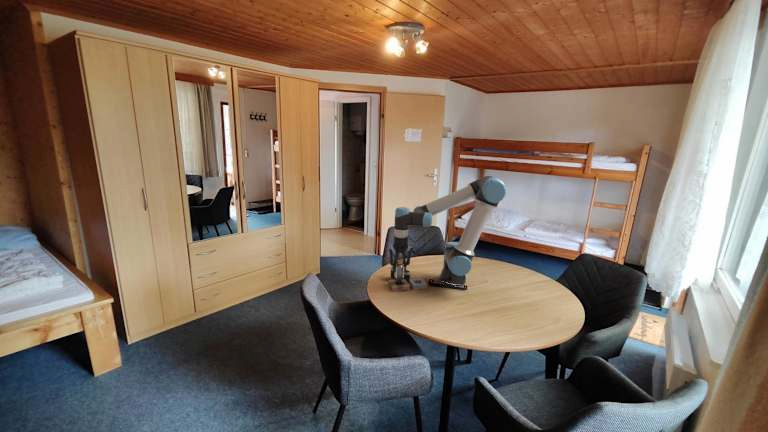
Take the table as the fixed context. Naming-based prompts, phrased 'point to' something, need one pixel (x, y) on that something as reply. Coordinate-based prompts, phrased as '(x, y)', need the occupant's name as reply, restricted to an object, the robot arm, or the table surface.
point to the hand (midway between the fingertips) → (399, 276)
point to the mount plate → (417, 284)
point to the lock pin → (399, 272)
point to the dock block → (399, 286)
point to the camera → (406, 275)
